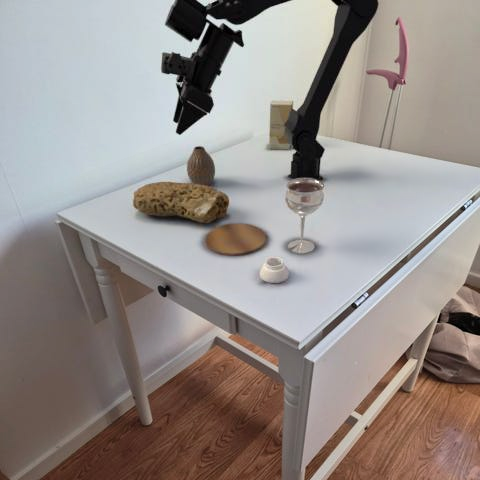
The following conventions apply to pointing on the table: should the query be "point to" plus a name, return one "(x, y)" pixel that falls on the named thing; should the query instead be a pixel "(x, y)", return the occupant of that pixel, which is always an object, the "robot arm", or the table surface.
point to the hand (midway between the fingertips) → (176, 127)
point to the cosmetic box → (279, 124)
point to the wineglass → (303, 205)
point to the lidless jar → (274, 270)
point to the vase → (200, 167)
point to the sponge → (181, 201)
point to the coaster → (235, 239)
